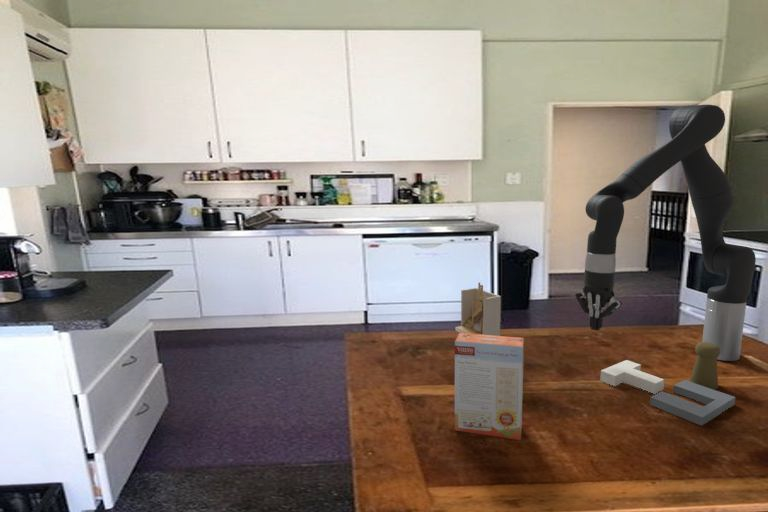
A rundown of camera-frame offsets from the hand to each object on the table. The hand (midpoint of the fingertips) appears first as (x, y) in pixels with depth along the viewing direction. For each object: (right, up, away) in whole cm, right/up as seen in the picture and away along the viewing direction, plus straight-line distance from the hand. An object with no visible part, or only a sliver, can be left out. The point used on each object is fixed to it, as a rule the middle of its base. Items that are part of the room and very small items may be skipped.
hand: (595, 329), depth 126 cm
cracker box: (-36, -18, -27) cm, 49 cm away
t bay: (+14, -15, -19) cm, 28 cm away
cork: (+24, -13, -9) cm, 29 cm away
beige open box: (-31, -12, +7) cm, 34 cm away
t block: (+7, -13, -8) cm, 16 cm away
